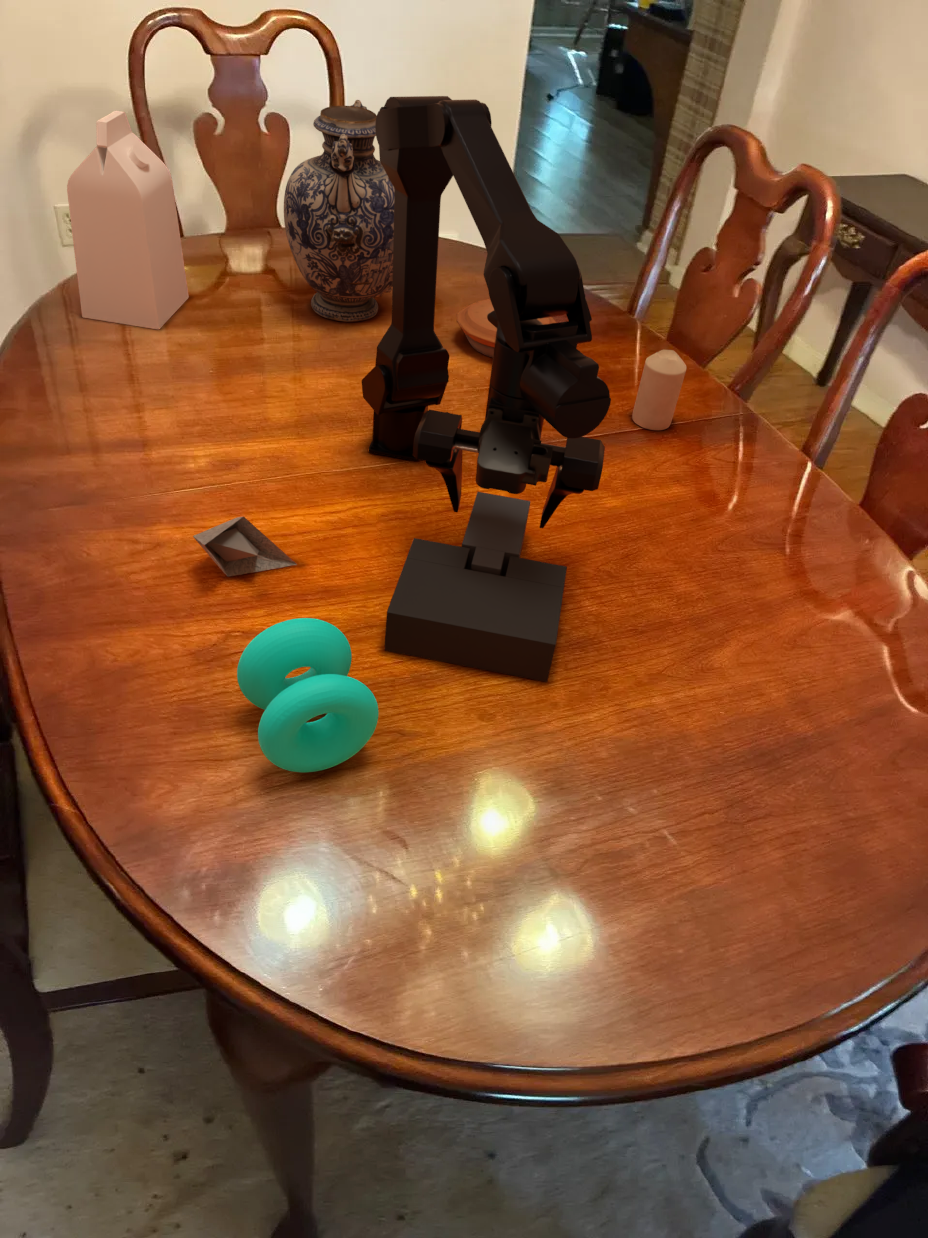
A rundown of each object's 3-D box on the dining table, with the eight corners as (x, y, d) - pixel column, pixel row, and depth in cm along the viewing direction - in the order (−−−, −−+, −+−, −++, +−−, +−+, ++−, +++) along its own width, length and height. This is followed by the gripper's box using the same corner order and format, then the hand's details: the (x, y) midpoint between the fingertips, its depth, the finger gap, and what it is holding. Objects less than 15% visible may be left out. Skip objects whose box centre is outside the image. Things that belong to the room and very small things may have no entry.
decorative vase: (400, 344, 139) (412, 141, 120) (275, 331, 138) (268, 125, 119) (408, 287, 155) (420, 101, 136) (296, 275, 153) (293, 85, 135)
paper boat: (269, 519, 101) (324, 538, 96) (254, 576, 102) (308, 598, 96) (175, 498, 92) (231, 519, 86) (160, 561, 92) (214, 585, 87)
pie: (571, 343, 145) (577, 313, 141) (523, 378, 134) (528, 346, 131) (488, 313, 150) (492, 282, 147) (435, 344, 140) (438, 312, 136)
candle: (669, 433, 127) (689, 366, 120) (630, 426, 127) (647, 358, 120) (671, 414, 131) (689, 348, 124) (632, 407, 131) (649, 341, 125)
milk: (116, 285, 144) (88, 99, 126) (188, 297, 143) (170, 111, 126) (82, 317, 135) (47, 120, 117) (159, 329, 134) (135, 134, 117)
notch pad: (384, 650, 89) (386, 612, 86) (410, 575, 98) (413, 537, 95) (547, 682, 88) (555, 644, 85) (558, 603, 97) (567, 566, 94)
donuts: (265, 792, 76) (260, 710, 69) (237, 706, 82) (229, 624, 76) (380, 761, 79) (386, 680, 73) (344, 681, 86) (346, 600, 79)
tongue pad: (452, 598, 96) (456, 561, 93) (472, 527, 106) (477, 491, 103) (508, 609, 96) (515, 572, 92) (524, 536, 106) (530, 500, 102)
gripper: (405, 407, 82) (396, 546, 93) (612, 444, 81) (579, 581, 92) (430, 353, 91) (419, 486, 101) (618, 386, 89) (587, 517, 100)
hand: (498, 518), depth 98 cm, fingers open, 9 cm apart
